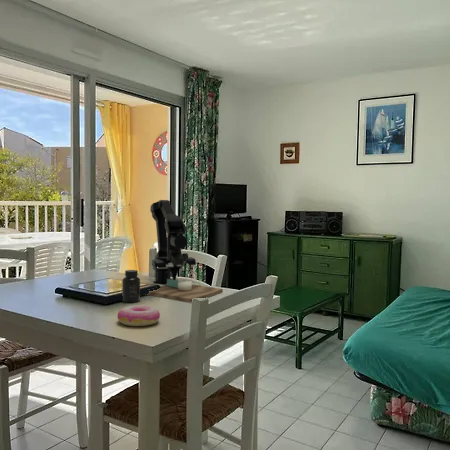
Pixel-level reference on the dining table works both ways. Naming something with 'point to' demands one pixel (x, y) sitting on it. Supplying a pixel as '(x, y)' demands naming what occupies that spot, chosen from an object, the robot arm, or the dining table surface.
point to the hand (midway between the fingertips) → (174, 281)
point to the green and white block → (180, 284)
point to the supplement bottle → (131, 286)
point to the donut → (138, 315)
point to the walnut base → (185, 292)
